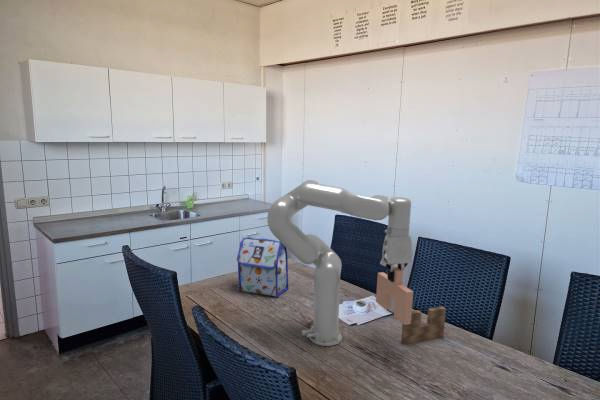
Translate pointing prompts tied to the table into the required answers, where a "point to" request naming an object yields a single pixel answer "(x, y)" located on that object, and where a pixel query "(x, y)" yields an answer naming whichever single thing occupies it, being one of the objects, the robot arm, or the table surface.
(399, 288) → the pink notched panel
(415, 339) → the board
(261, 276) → the lunch bag
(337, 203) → the robot arm
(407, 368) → the table surface
